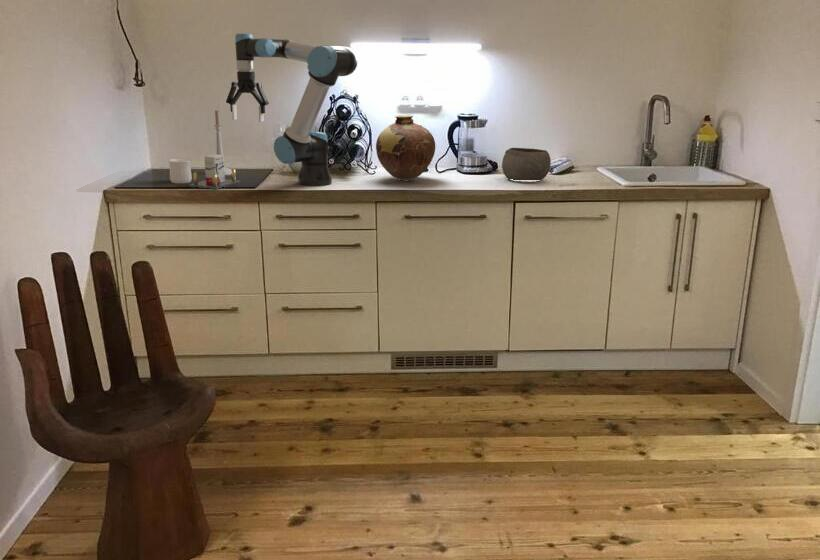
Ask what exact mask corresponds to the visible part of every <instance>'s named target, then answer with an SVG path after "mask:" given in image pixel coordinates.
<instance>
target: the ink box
mask: <svg viewBox="0 0 820 560" xmlns="http://www.w3.org/2000/svg"><path fill="white" fill-rule="evenodd" d="M224 157H225V155H224V154H223V155H217V153H216V154H215V153H214V154H209V155H205V156H204V171H205V172H204V173H205V180H206V184H213V175H212V174H216V177H217V184H218V183H221V182H224V181H225V179H226V176H225V172H224V166H225V159H224Z"/></svg>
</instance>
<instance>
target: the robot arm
mask: <svg viewBox="0 0 820 560" xmlns="http://www.w3.org/2000/svg"><path fill="white" fill-rule="evenodd" d="M234 45H235V56H236V57H235V58H236V71H237V72H236V76H237V81H232V82H231V87H230V90H229V92H228V95H227V98H226V100H225V103H226V104H229V107H230V108H229V109H230V112H231V113H232V114H231V115H232V118H231V119H232V121H236V120H238V111H237V110H238V107H237V104H236V102H238V100H239V99H240V97H241V95H242V94H245V93H246V94H251V95H252V96H253V98H254V99H255V100H256V102H257V103H258V104H259V105H258V121H259V122H264V121H265V115H264V114H265V113H266V106H267V105H269V104H270V102H269V101H268V98H267V95H266V93H265V92H264V89H263V86H262V82H255V80H256V78H255V77H256V75H255V58H283V59H288V60H294V61H299V62H303V63H306V64H307V70H308V72H307V73H308V74H307V75H308V76H309V80H308V83H307V84H306V87H305V90H304V92H303V94H302V97H301V98H300V102H299V104H298V107H297V109H296V111H295V113H294V114H295V115H294V117H293V119H292V122H291V125H289V126H287V127H286V128H285V130H284V132H283V134H282V135H280V136H278V137H277V138H275V140H274V142H273V151H274V155H275V157H276V159H278V161H279V162H281V163H283V164H287V165H289V164H291V165H293V164H297V163H301V167H300V171H299V174H298V177H297V183H298V184H299V185H303V186H313V187H314V185H319V186H326V184H328V185H331V184H332V183H333V180H332V179H333V178H332V175H331V173H330V169H329V166H328V159H329V158H328V155H329V153H328V143H329V141H328V135H327V133H325V132H323V131H322V132H321V131H312V130H313V127H314V125H315V123H316V120H317V118H318V116H319V114H320V111H321V108H322V106H323V104H324V101H325V99H326V97H327V94H328V93H329V90H330V87H334V86H335V84H336V83H337V80H338V78H339V77H347V76H350V75H352V74H353V73H354V71H356V69H357V68H358V67H357V66H358V63H359V62H358V56H357V53H356V52H355V51H354V49H352V48H351V47H348V46H343V45H342V46H341V45H340V46H339V45H326V44H324V45H316V44H315V45H314V44H311V43H310V44H309V43H303V42H299V41H293V40H290V39H285V38H284V39H275V38H264V37H263V38H254V36H253V34H251V33H236V34H235V42H234ZM237 87H238V89H237ZM255 88H256V89H255ZM330 183H331V184H330Z"/></svg>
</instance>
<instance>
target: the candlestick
mask: <svg viewBox="0 0 820 560" xmlns="http://www.w3.org/2000/svg"><path fill="white" fill-rule="evenodd" d="M220 116H221V115H220V110H214V117H215V124H213V125H214V127H215V128H214V129H215V130H216V134H215V135H216V155H224V152H223V142H222V133H221V130H222V124H221V118H220ZM224 172H225V175H226V176H232V175H231V174H232V169H231V168H228V167H226V166H225V165H224Z"/></svg>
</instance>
